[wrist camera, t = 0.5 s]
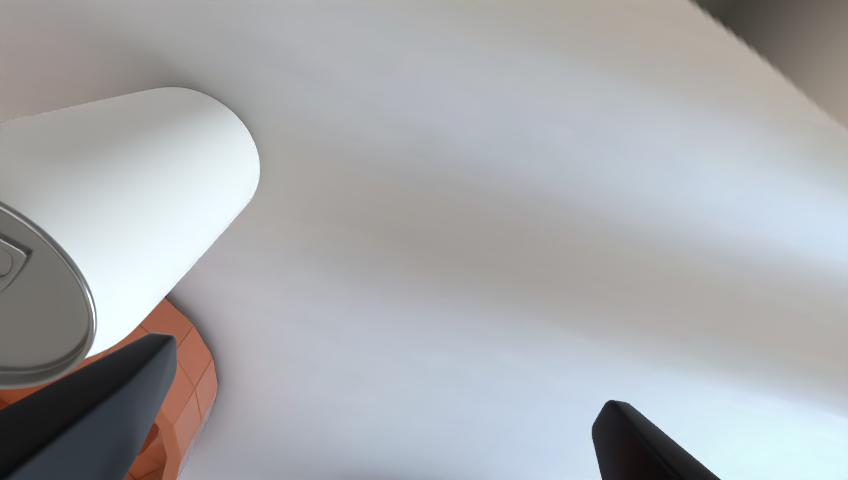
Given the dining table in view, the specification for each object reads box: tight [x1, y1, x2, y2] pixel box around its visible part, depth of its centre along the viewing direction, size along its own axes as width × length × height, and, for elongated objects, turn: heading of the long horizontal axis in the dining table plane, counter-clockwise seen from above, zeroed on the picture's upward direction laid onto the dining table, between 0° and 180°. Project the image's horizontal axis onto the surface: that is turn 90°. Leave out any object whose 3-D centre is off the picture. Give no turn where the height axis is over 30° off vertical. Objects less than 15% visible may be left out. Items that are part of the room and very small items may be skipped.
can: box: [0, 87, 260, 389], centre depth 15 cm, size 6×6×12 cm
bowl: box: [0, 297, 218, 480], centre depth 23 cm, size 15×15×6 cm
